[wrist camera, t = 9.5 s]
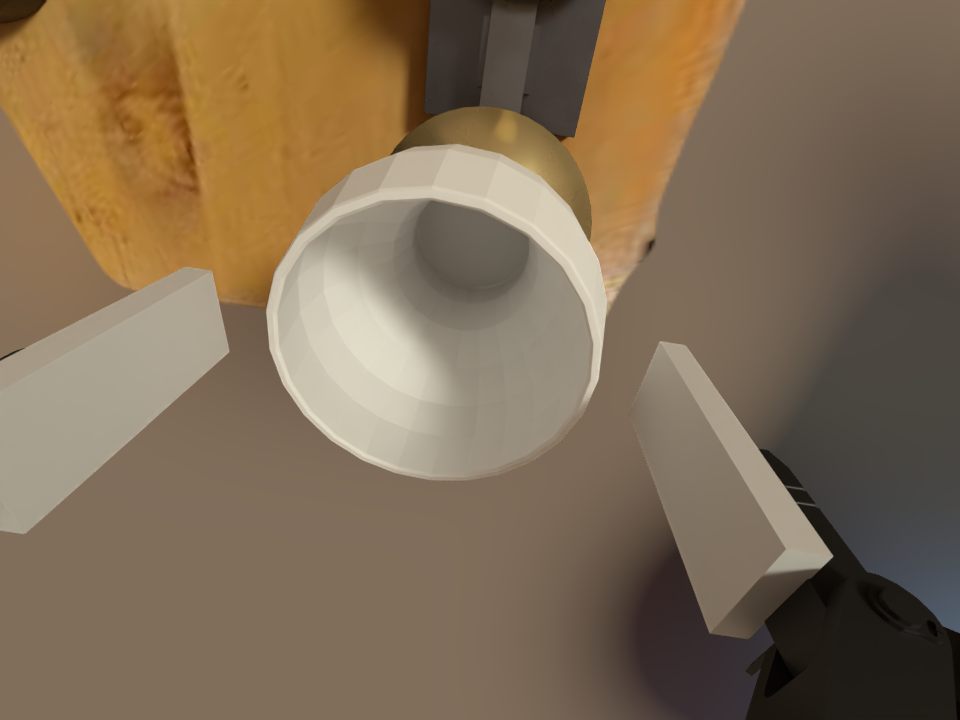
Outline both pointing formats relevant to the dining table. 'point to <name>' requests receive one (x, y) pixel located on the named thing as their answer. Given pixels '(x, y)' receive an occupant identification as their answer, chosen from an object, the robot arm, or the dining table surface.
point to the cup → (440, 314)
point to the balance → (512, 84)
